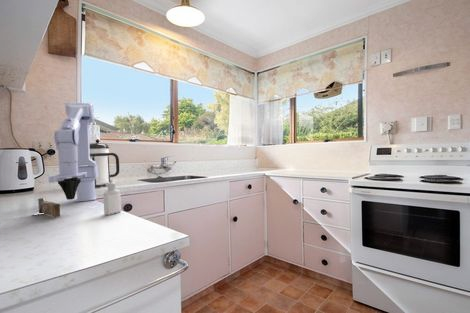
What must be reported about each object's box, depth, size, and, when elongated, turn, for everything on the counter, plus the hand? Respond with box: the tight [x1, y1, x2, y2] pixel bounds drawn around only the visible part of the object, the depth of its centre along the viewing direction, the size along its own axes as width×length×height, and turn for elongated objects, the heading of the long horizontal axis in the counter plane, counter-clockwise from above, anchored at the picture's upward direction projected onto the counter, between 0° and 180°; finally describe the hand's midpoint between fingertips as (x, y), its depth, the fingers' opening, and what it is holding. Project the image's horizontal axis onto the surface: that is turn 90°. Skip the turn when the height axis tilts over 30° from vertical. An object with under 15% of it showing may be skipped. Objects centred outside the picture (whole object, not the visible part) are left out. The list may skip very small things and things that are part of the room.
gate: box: [41, 200, 61, 218], centre depth 84 cm, size 12×2×4 cm, turn 57°
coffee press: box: [87, 138, 120, 189], centre depth 155 cm, size 17×16×30 cm
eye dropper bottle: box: [102, 178, 122, 216], centre depth 85 cm, size 4×6×12 cm
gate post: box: [37, 197, 46, 213], centre depth 88 cm, size 5×5×6 cm
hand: (70, 199), depth 89 cm, fingers closed
